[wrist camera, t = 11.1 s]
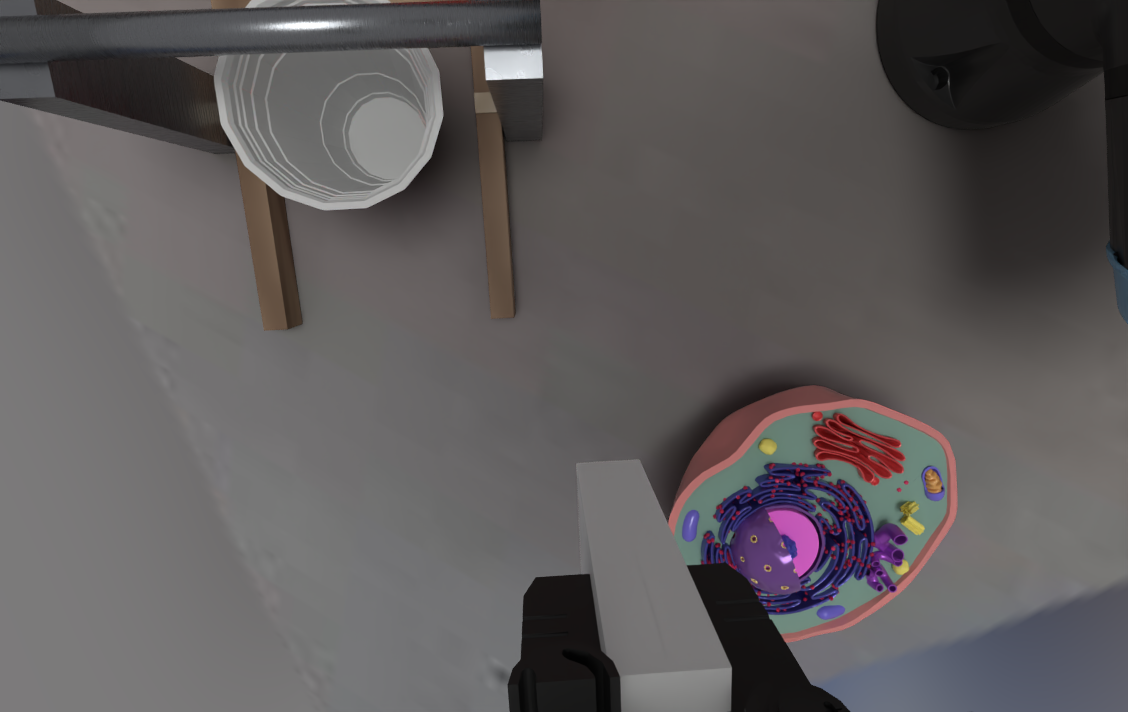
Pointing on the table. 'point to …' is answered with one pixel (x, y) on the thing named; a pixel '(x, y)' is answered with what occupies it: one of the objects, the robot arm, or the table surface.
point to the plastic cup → (331, 118)
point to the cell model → (817, 505)
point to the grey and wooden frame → (187, 95)
